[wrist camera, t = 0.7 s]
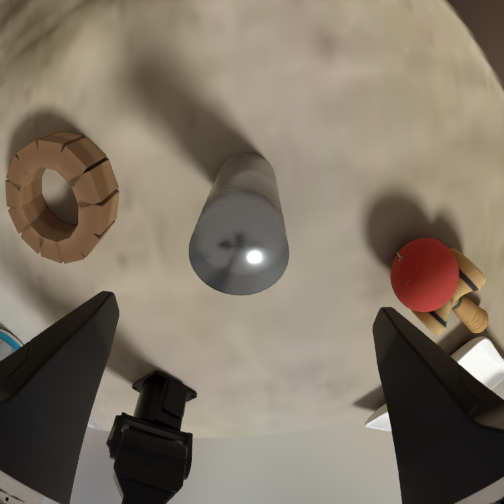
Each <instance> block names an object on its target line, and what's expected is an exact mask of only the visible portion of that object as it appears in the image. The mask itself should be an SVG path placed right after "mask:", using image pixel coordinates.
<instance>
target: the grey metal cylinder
mask: <svg viewBox="0 0 504 504" xmlns="http://www.w3.org/2000/svg"><path fill="white" fill-rule="evenodd" d="M189 258H190V262H191V265H192V267H193V269H194V271H195V273H196V274H197V275H198V277H199V278H200V279H201V280H202V281H203V282H204V283H206V284H207V285H208V286H210V287H211V288H213V289H215V290H217V291H220V292H223V293H226V294H231V295H250V294H255V293H258V292H261V291H263V290H265V289H267V288H269V287H271V286H272V285H273V284H275V283H276V282H277V281H278V280H279V279H280V277H281V276H282V275H283V273H284V271H285V270H286V267H287V264H288V260H289V247H288V241H287V236H286V230H285V225H284V220H283V214H282V209H281V204H280V199H279V193H278V188H277V183H276V178H275V174H274V171H273V168H272V167H271V165H270V164H269V162H268V161H267V160H266V159H264V158H263V157H261V156H259V155H257V154H253V153H239V154H236V155H234V156H232V157H230V158H229V159H228V160H226V161H225V162H224V164H223V165H222V167H221V169H220V171H219V173H218V175H217V177H216V180H215V182H214V184H213V187H212V189H211V191H210V194H209V196H208V198H207V201H206V203H205V205H204V208H203V210H202V212H201V215H200V217H199V220H198V222H197V224H196V227H195V229H194V232H193V234H192V237H191V240H190V243H189Z"/></svg>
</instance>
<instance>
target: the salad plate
mask: <svg viewBox="0 0 504 504" xmlns="http://www.w3.org/2000/svg"><path fill="white" fill-rule="evenodd" d="M451 357H452V358H453V359H454V360H455V361H456V362H458V364H459V365H461V366H462V367H463V368H464V369H466V370H467V371H468V372H469V373H470V374H471V375H473V376H474V377H475V378H476V379H477V380H479V381H480V382H481V383H482V384H484V385H485V386H486V387H488V388H489V389H490V390H491V389H492V388H494V387H495V386H496V385H497V384H499V383H500V382H501V381H502V380H503V379H504V359H503V358H502V357H501V356H500V354H499V353H498V351H497V350H496V348H495V347H494V345H493V344H492V342H491V341H490V340H489V339H488V338H486V337H483V336H481V337H477V338H474V339H472V340H470V341H469V342H467V343H466V344H465V345H463V346H462V347H461V348H460V349H459V350H457V351H456V352H454V353H453V354H452V355H451ZM365 426H366V427H369V428H375V429H380V430H386V431H391V425H390V420H389V415H388V410H387V406H386V404H384V405H383V406H382V407H380V408H379V409H378V410H376V411H375V412H374V413H373V414H372V415H371V416H370V417H369V418H368V420H367V421H366V423H365Z"/></svg>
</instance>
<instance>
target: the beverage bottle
mask: <svg viewBox="0 0 504 504" xmlns="http://www.w3.org/2000/svg"><path fill="white" fill-rule="evenodd" d="M22 346H23V344H22V343H21V342H20V341H19V340H18V339H17V338H16V337H14V336H13V335H12V334H10V333H9V332H7V331H5V330H3V329H0V361H1V360H2V359H4V358H6V357H7V356H9V355H10V354H12V353H13V352H15V351H16V350H17V349H19V348H20V347H22Z"/></svg>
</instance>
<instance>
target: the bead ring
mask: <svg viewBox="0 0 504 504" xmlns="http://www.w3.org/2000/svg"><path fill="white" fill-rule="evenodd" d="M105 157H106V155H105V154H104V153H103V152H102V151H101V150H100V149H99V148H98V147H97V146H96V145H95V144H93V143H92V142H91V141H90V140H89V139H88V138H87V137H86V138H83V135H79V134H73V133H67V132H57V133H54V134H51V135H48V136H46V137H43V138H40V139H38V140H35V141H34V142H32V143H30V144H29V145H27V146H26V147H24V148H23V149H21V150H20V151H18V152H17V154H16V155H15V156H14V158H13V161H12V163H11V166H10V168H9V171H8V173H7V176H6V178H7V179H8V180H6V181H5V182H6V201H7V206H8V207H11V208H10V209H9V210H8V212H9V214H10V216H11V218H12V221H13V223H14V225H15V227H16V229H17V232H18V234H19V233H21V232H23V233H22V235H21V238H22V239H23V240H24V241H25V242H26V243H27V244H28V245H29V246H30V247H31V248H32V249H33V250H34V251H35V252H36V253H37V254H38V253H39V252H41V256H42V257H45V258H48V259H50V260H53V261H56V262H59V263H62V262H64V264H66V263H70V262H74V261H78V260H82V259H84V258H85V257H87V256H88V255H89V253H90V252H91V251H92V250H93V249H94V247H95V246H96V245H97V244H98V243H99V241H100V240H101V239H102V238H103V237H104V235H105V234H106V233H107V231H108V230H109V229H110V227H111V226H112V225H113V223H114V222H115V221H114V220H115V219H116V218H117V207H118V198H119V191H115V190H116V189H117V188H118V184H117V181H116V178H115V176H114V173H113V170H112V167H111V164H110V162H109V160H106V161H104V162H102V161H103V160H104V158H105ZM46 168H48V169H52V170H56V171H57V172H58V173H59V174H60V175H61V176H62V177H63V178H64V179H65V180H66V181H67V182H68V183H69V184H70V185H71V188H72V190H73V193H74V195H75V198H76V200H77V202H78V224H76V225H72V224H69V223H66V222H62V221H60V220H59V219H58V218H57V217H56V216H55V215H54V214H53V213H52V212H50V211H49V210H48V207H47V205H46V203H45V200H44V198H43V195H42V175H43V173H44V171H45V169H46Z"/></svg>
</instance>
